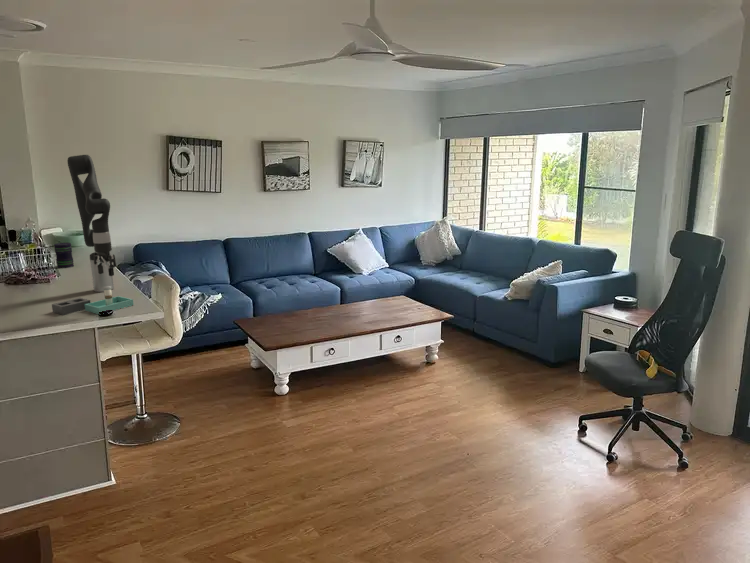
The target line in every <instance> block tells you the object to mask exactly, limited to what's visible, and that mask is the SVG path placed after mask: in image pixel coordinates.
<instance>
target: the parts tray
mask: <svg viewBox="0 0 750 563" xmlns="http://www.w3.org/2000/svg"><path fill="white" fill-rule="evenodd" d="M112 300H113V304H111V305H107V306H106V303H105V298H104V299H101V300H96V301H92V302H91V303H88V304H84V305H85V310H84V311H85V312H90V313H92V314H97V315H100V314H99V312H102V311H106V310H114V311H117V310H116V309H118V310H121V309H120V308H122V309H125V308H124V307H126V308H129V307H128V306H130V307H133V306H132V305H134V299H133V298H128V297H125V296H119V295H117V296H114V297H113V296H112Z"/></svg>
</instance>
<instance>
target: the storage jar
mask: <svg viewBox="0 0 750 563" xmlns="http://www.w3.org/2000/svg"><path fill="white" fill-rule="evenodd" d="M53 246H54V254H55V257H56V258H55V261H56V262H55V263H56V266H57V267H56V268H57V269H68V268H70V269H71V268H73V267H74V266H75V265H74V257H73V250H72V249H73V248H72V242H58V243H57V242H56V243H55V244H53Z"/></svg>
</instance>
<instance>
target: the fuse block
mask: <svg viewBox="0 0 750 563" xmlns="http://www.w3.org/2000/svg"><path fill="white" fill-rule="evenodd" d="M88 303H92V302H91V300H90V299H88V298H83V297H77V298H73V299H68V300H64V301H59V302H55V303H51V310H52V313H53V314H58V315H61V316H65V315H69V314H74V313H78V312H81V311H85V305H84V304H88Z"/></svg>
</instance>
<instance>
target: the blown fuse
mask: <svg viewBox="0 0 750 563" xmlns="http://www.w3.org/2000/svg"><path fill="white" fill-rule="evenodd" d="M103 288H104V292H103V293H104V299H105V303H106V306H107V305H111V304H113V300H112V298H113V293H112V292H113V291H112V290H111V286H105V287H103Z"/></svg>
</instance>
